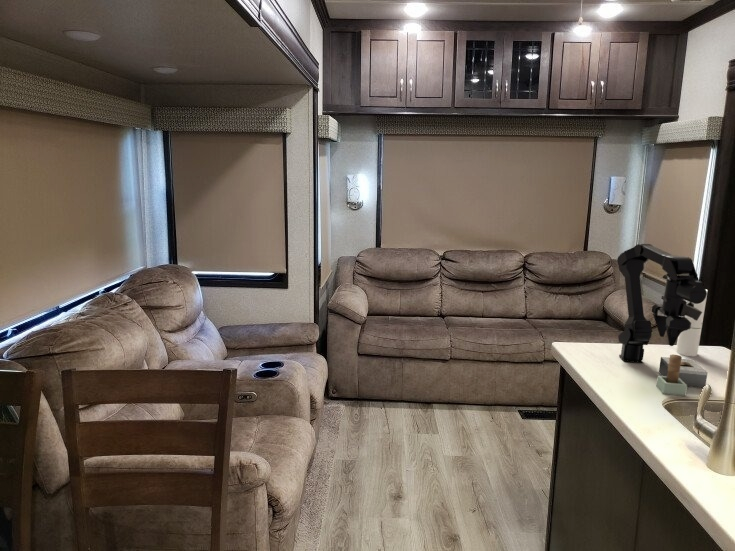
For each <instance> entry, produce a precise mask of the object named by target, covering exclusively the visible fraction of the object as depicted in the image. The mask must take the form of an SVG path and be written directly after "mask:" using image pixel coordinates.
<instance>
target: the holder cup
mask: <svg viewBox="0 0 735 551" xmlns="http://www.w3.org/2000/svg"><path fill="white" fill-rule="evenodd" d="M656 377H657V379H656V388H657V389H658V390H659V391H660V392H661V393H662V395H671V396H681V397H682V396H683V397H686V396H687V395H686V394H687V388H688V387H687V385H686V384H685V383H684V382H683V381H682V380H681V379H680V378H678V384H677V383H667V382H666V379H667V377H666V376H662V375H657V376H656Z"/></svg>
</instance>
